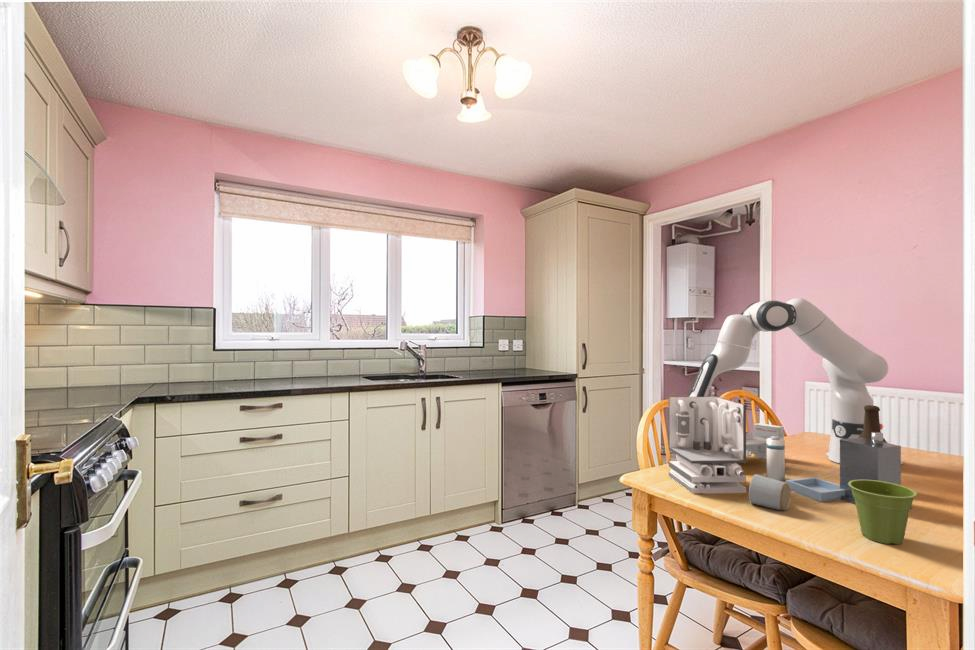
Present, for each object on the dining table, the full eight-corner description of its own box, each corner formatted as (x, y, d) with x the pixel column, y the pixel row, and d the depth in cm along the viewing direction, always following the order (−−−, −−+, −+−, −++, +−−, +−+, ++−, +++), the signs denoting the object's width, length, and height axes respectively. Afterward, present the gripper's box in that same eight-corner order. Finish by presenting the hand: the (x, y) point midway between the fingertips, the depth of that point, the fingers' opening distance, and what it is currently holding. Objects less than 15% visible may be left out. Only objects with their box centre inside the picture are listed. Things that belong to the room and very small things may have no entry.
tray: (815, 485, 143) (815, 477, 143) (852, 498, 132) (852, 489, 132) (785, 488, 140) (785, 480, 140) (821, 502, 129) (821, 492, 129)
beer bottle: (857, 482, 146) (857, 402, 146) (890, 488, 140) (890, 406, 140) (852, 488, 140) (852, 405, 140) (887, 495, 135) (887, 409, 135)
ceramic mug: (783, 515, 120) (783, 484, 120) (747, 506, 126) (748, 476, 126) (794, 505, 128) (795, 475, 128) (760, 497, 134) (761, 469, 134)
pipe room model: (717, 475, 152) (717, 396, 152) (753, 497, 133) (753, 406, 133) (668, 476, 151) (668, 396, 152) (697, 498, 132) (697, 407, 132)
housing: (860, 492, 137) (860, 425, 137) (911, 508, 124) (911, 435, 124) (830, 495, 134) (830, 427, 134) (879, 513, 121) (879, 438, 121)
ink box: (784, 459, 171) (784, 426, 171) (779, 462, 167) (779, 427, 167) (758, 454, 177) (758, 422, 177) (753, 457, 174) (753, 424, 174)
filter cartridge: (775, 475, 152) (774, 434, 153) (789, 479, 148) (788, 438, 148) (762, 476, 151) (762, 435, 151) (776, 481, 146) (775, 439, 146)
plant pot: (844, 523, 115) (844, 476, 115) (909, 534, 109) (909, 484, 109) (852, 542, 105) (852, 490, 105) (923, 555, 99) (923, 500, 99)
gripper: (703, 435, 165) (734, 445, 152) (752, 431, 171) (786, 440, 157) (703, 453, 165) (734, 465, 152) (752, 449, 171) (786, 460, 157)
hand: (761, 452), depth 155 cm, fingers open, 8 cm apart
